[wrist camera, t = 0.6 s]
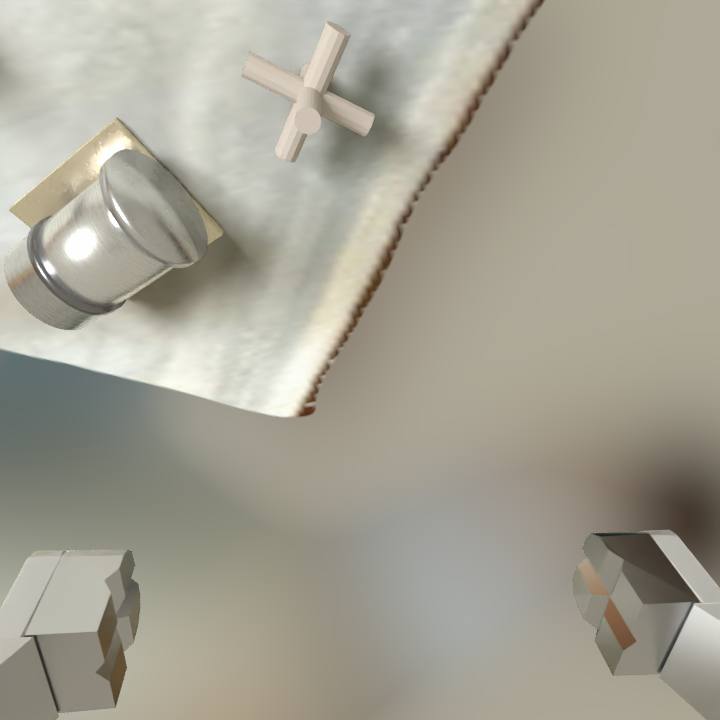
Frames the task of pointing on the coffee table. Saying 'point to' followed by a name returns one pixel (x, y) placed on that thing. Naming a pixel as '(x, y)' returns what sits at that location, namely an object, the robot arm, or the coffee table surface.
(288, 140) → the pipe connector
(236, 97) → the coffee table surface
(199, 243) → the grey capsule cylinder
